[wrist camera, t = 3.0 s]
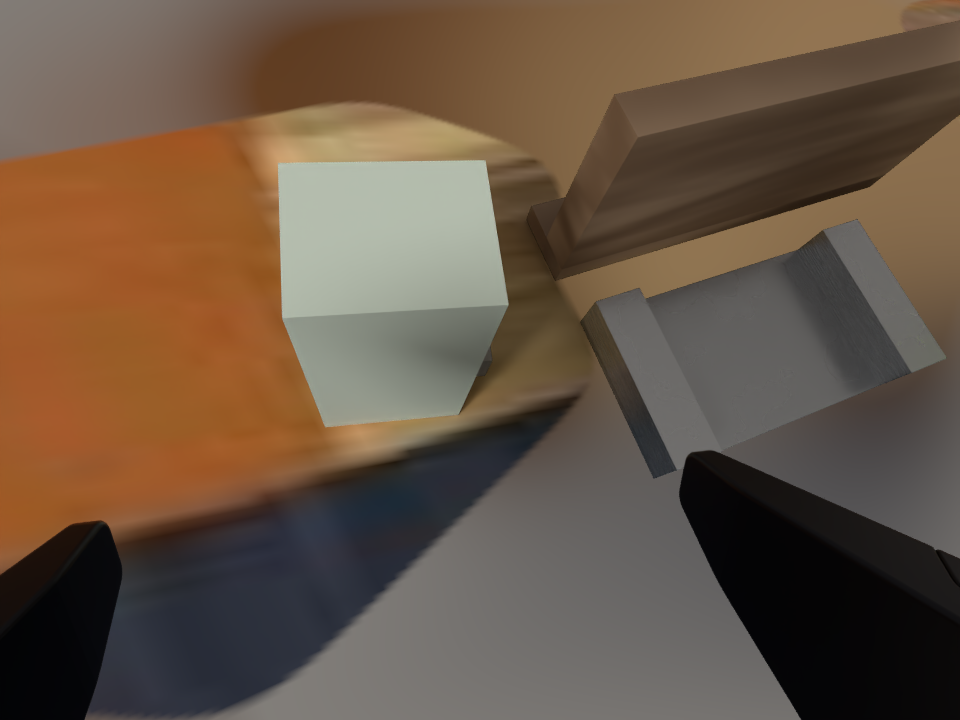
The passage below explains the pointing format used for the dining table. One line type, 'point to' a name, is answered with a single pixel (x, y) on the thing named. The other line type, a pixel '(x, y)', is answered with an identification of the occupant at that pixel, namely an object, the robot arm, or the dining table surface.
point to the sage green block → (389, 284)
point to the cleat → (756, 346)
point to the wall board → (748, 145)
